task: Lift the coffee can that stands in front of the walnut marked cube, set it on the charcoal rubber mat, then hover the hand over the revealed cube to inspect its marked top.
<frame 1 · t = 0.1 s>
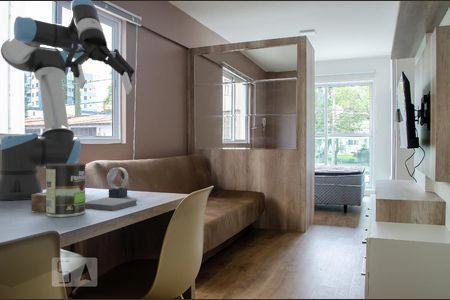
hand: (107, 88, 100), 36 cm above the table, tool tilted 35°, fingers open, 13 cm apart
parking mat: (109, 205, 113), on the table
marked cube: (45, 210, 104), on the table
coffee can: (65, 214, 100), on the table
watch: (117, 197, 132), on the table
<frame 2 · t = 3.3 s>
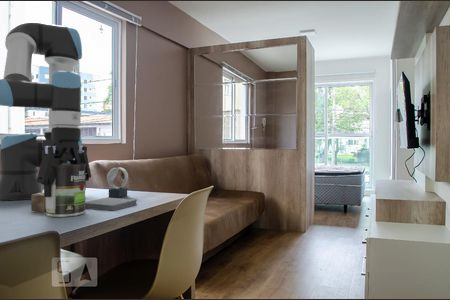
hand: (66, 205, 100), 2 cm above the table, tool pointing down, fingers closed on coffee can, 10 cm apart
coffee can: (66, 214, 100), on the table, touching gripper
everything else where it was.
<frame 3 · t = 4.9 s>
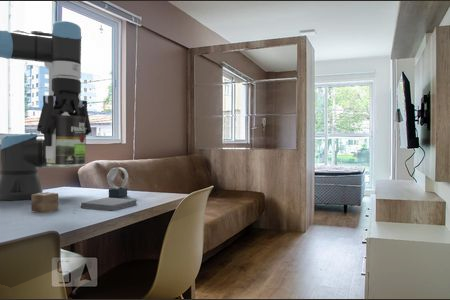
hand: (66, 157, 100), 16 cm above the table, tool pointing down, fingers closed on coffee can, 10 cm apart
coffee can: (66, 166, 100), point 13 cm above the table, touching gripper
everything else where it was.
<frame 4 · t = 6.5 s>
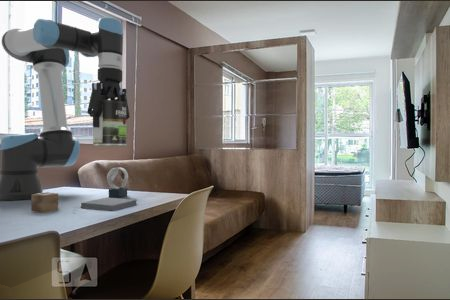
hand: (109, 138, 112), 22 cm above the table, tool pointing down, fingers closed on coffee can, 10 cm apart
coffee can: (109, 146, 112), point 19 cm above the table, touching gripper
everything else where it was.
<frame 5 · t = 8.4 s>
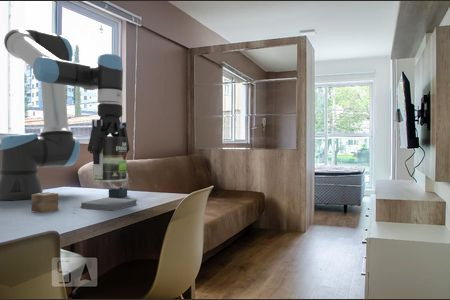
hand: (109, 173, 113), 10 cm above the table, tool pointing down, fingers closed on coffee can, 10 cm apart
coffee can: (110, 181, 113), point 8 cm above the table, touching gripper
everything else where it was.
when the fingers open (5 cm above the table, at t = 10.0 s): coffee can drops 1 cm, resting on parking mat.
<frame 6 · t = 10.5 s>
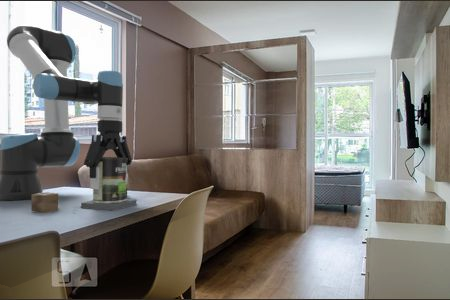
hand: (109, 186, 113), 6 cm above the table, tool pointing down, fingers open, 13 cm apart
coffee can: (109, 201, 113), point 1 cm above the table, touching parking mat
everything else where it was.
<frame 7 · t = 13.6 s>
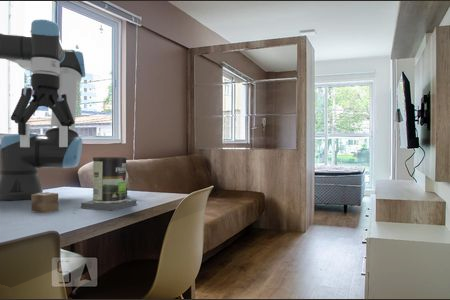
hand: (45, 147, 104), 19 cm above the table, tool pointing down, fingers open, 13 cm apart
nothing on the table moved.
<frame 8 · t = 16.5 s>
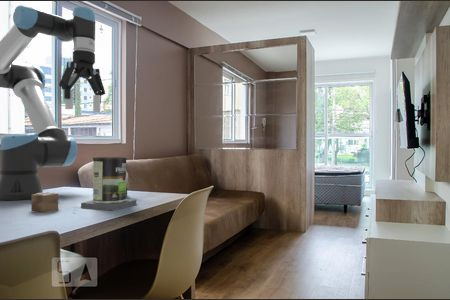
hand: (83, 110, 127), 32 cm above the table, tool pointing down, fingers open, 13 cm apart
nothing on the table moved.
at the end: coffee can inside the target area on the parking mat (0.1 cm from its centre), point 1.3 cm above the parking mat's base; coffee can tilted 0°; marked cube moved 0.1 cm from its start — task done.
